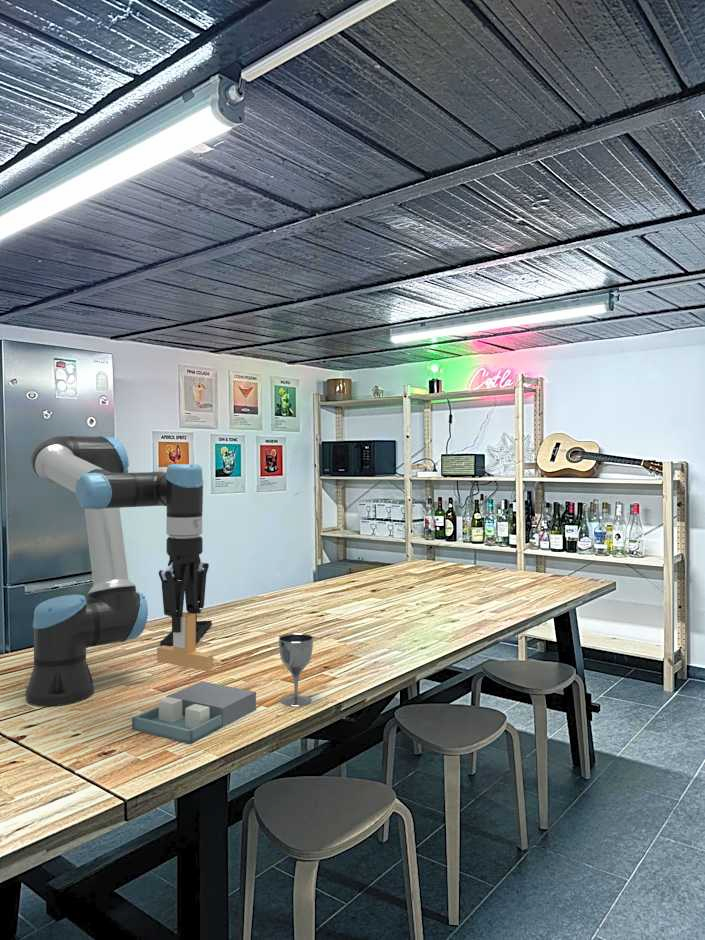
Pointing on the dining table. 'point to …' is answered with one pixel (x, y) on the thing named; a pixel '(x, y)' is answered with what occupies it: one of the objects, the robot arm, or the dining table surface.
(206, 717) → the white rectangular block
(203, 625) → the black shallow tray
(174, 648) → the orange t-shaped block
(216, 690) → the grey drawer housing
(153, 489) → the robot arm
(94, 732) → the dining table surface
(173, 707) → the white cube block
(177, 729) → the blue-grey flat tray
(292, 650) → the wine glass
